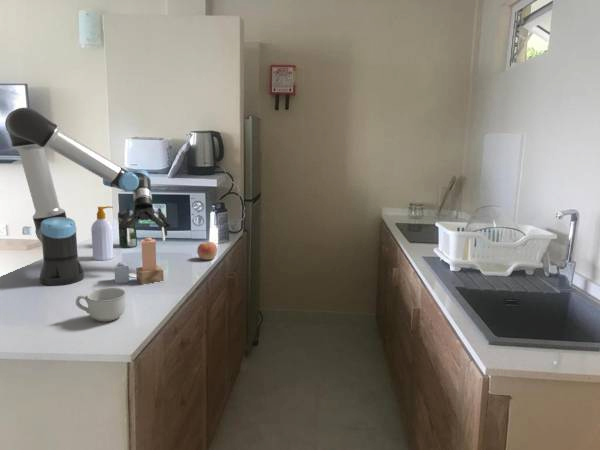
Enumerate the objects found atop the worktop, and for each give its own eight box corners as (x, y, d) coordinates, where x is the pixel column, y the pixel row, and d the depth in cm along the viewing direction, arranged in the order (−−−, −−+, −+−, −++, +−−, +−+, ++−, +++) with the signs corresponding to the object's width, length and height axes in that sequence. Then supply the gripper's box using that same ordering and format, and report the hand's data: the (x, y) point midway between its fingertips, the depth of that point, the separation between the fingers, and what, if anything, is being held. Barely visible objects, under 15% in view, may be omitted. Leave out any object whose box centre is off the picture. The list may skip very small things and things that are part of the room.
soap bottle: (115, 259, 206) (112, 207, 202) (92, 261, 203) (89, 208, 199) (115, 255, 214) (112, 205, 210) (93, 256, 211) (90, 205, 206)
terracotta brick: (142, 270, 172) (141, 239, 170) (142, 267, 177) (141, 237, 175) (156, 269, 174) (155, 239, 172) (156, 266, 178) (154, 236, 176)
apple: (215, 261, 206) (214, 244, 204) (195, 261, 206) (195, 244, 204) (218, 257, 214) (218, 240, 213) (200, 256, 214) (199, 240, 213)
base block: (142, 285, 171) (141, 272, 170) (136, 280, 177) (136, 267, 176) (163, 282, 175) (163, 269, 174) (157, 277, 182) (156, 265, 181)
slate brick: (115, 283, 172) (114, 265, 171) (115, 279, 177) (114, 262, 176) (129, 281, 174) (128, 264, 173) (128, 278, 179) (127, 261, 177)
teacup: (131, 311, 144) (130, 287, 142) (119, 325, 133) (118, 299, 131) (86, 311, 143) (85, 287, 142) (70, 325, 132) (69, 298, 131)
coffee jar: (117, 245, 235) (115, 209, 231) (133, 243, 239) (131, 208, 236) (123, 249, 227) (121, 212, 224) (139, 247, 232) (137, 211, 228)
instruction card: (133, 277, 179) (133, 276, 179) (125, 274, 183) (124, 274, 183) (151, 273, 186) (151, 272, 186) (142, 270, 189) (142, 270, 189)
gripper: (172, 205, 203) (177, 245, 192) (111, 207, 193) (113, 249, 182) (173, 195, 197) (179, 235, 186) (111, 196, 188) (113, 239, 176)
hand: (146, 242), depth 184 cm, fingers open, 13 cm apart
